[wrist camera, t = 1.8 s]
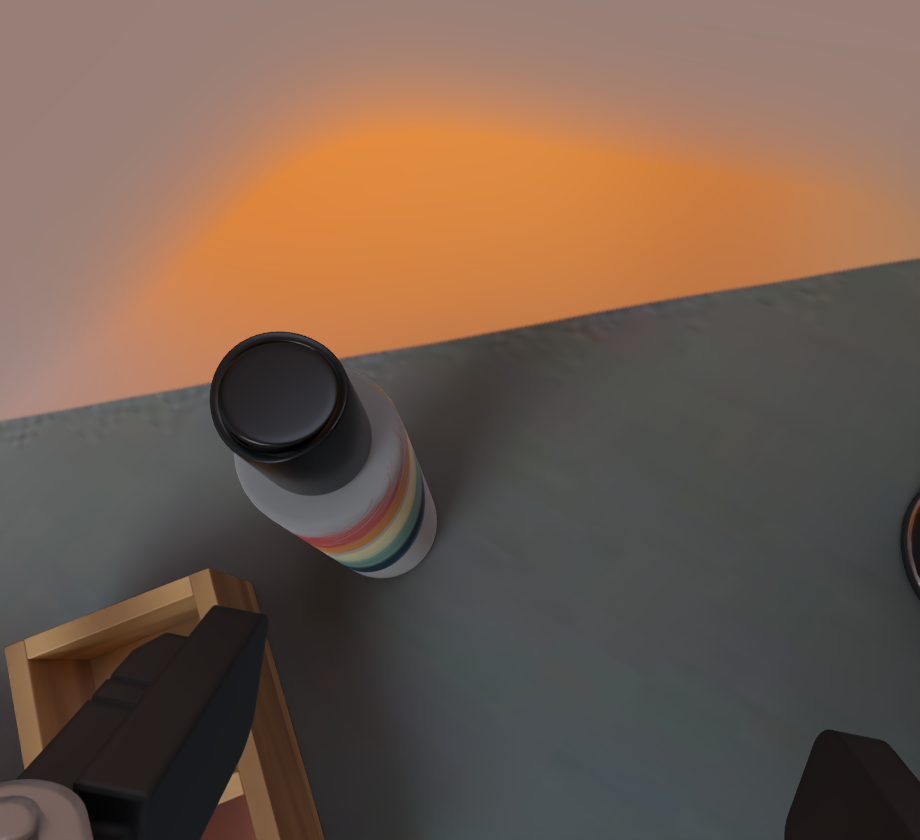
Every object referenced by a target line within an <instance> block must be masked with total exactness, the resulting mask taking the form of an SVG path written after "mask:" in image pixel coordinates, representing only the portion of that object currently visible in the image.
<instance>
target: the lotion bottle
mask: <svg viewBox="0 0 920 840" xmlns="http://www.w3.org/2000/svg"><path fill="white" fill-rule="evenodd" d="M210 409H211V415H212V419H213V422H214V425H215V427H216V430H217V432H218V434H219V435H220V437H221V438H222V440H223V441H224V442H225V444H226V445H227V446H228V447H229V448H230V449H231V450H232V451H233V452H234V458H235V466H236V471H237V475H238V478H239V480H240V483H241V485H242V487H243V489H244V491H245V493H246V494H247V496H248V497H249V499H250V500H251V501H252V502H253V504H254V505H255V506H256V507H257V508H258V509H259V510H260V511H261V512H263V513H264V514H265V515H266V516H268V517H269V518H270V519H272V520H273V521H275V522H276V523H278V524H279V525H281V526H282V527H284V528H285V529H287V530H289V531H290V532H292V533H293V534H295V535H296V536H298V537H300V538H301V539H303V540H304V541H306V542H308V543H309V544H311V545H312V546H314V547H316V548H317V549H319V550H320V551H322V552H324V553H325V554H327V555H328V556H330V557H332V558H333V559H335V560H336V561H338V562H340V563H341V564H343V565H344V566H346V567H348V568H349V569H351V570H353V571H355V572H357V573H359V574H362V575H364V576H368V577H374V578H389V577H394V576H398V575H401V574H403V573H405V572H407V571H409V570H411V569H412V568H414V567H415V566H416V565H418V564H419V563H420V562H421V561H422V560H423V559H424V557H425V556H426V555H427V553H428V552H429V550H430V548H431V546H432V544H433V541H434V538H435V535H436V529H437V515H436V510H435V505H434V502H433V499H432V496H431V494H430V491H429V488H428V486H427V483H426V481H425V478H424V476H423V473H422V470H421V468H420V465H419V463H418V460H417V458H416V455H415V453H414V450H413V447H412V445H411V442H410V440H409V437H408V435H407V432H406V430H405V427H404V425H403V422H402V420H401V418H400V416H399V414H398V411H397V409H396V408H395V406H394V404H393V402H392V401H391V399H390V398H389V397H388V395H387V394H386V393H385V392H384V391H383V390H382V389H381V388H380V387H379V386H378V385H377V384H376V383H374V382H373V381H372V380H370V379H369V378H367V377H366V376H364V375H362V374H360V373H358V372H355V371H353V370H350V369H347V368H344V367H343V366H342V364H341V362H340V361H339V360H338V358H337V357H336V356H335V355H334V354H333V353H332V352H331V351H330V350H329V349H328V348H326V347H325V346H324V345H322V344H321V343H319V342H317V341H315V340H313V339H311V338H309V337H306V336H303V335H300V334H296V333H290V332H268V333H263V334H259V335H255V336H253V337H250V338H248V339H246V340H244V341H242V342H241V343H239V344H238V345H236V346H235V347H234V348H233V349H231V351H229V352H228V354H227V355H226V356H225V357H224V358H223V360H222V361H221V362H220V364H219V366H218V368H217V370H216V372H215V374H214V377H213V380H212V384H211V390H210Z"/></svg>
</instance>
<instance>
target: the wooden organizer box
mask: <svg viewBox="0 0 920 840" xmlns="http://www.w3.org/2000/svg"><path fill="white" fill-rule="evenodd" d="M214 605H220V606H225V607H230V608H235V609H240V610H245V611H250V612H255V613H260V610H259V606H258V603H257V599H256V595H255V592H254V588H253V585H252V583H251V582H249V581H246V580H243V579H240V578H237V577H234V576H231V575H228V574H225V573H222V572H219V571H216V570H213V569H209V568H207V569H204V570H202V571H199V572H197V573H194V574H191V575H190V576H186V577H184V578H181V579H179V580H176V581H174V582H171V583H168V584H166V585H163V586H161V587H158V588H155V589H153V590H150V591H148V592H145V593H143V594H140V595H137V596H135V597H132V598H130V599H127V600H125V601H122V602H119V603H117V604H114V605H112V606H109V607H106V608H104V609H101V610H99V611H96V612H94V613H91V614H88V615H86V616H83V617H81V618H78V619H75V620H73V621H70V622H68V623H65V624H63V625H60V626H57V627H55V628H52V629H50V630H47V631H45V632H42V633H39V634H37V635H34V636H32V637H29V638H26V639H25V640H22V641H19V642H17V643H14V644H11V645H9V646H6V647H5V655H6V661H7V667H8V673H9V679H10V685H11V691H12V697H13V703H14V710H15V716H16V722H17V728H18V734H19V740H20V746H21V752H22V758H23V764H24V770H25V769H26V768H27V767H28V766H29V765H30V764H31V762H32V761H33V760H34V759H35V758H36V757H37V756H38V755H39V754H40V752H41V751H42V750H43V749H44V748H45V747H46V746H47V745H48V744H49V742H50V741H51V740H52V739H53V738H54V737H55V736H56V735H57V734H58V732H59V731H60V730H61V729H62V728H63V727H64V726H65V725H66V724H67V723H68V721H69V720H70V719H71V718H72V717H73V716H74V715H75V714H76V713H77V711H78V710H79V709H80V708H81V707H82V706H83V705H84V704H85V703H86V701H87V700H91V699H92V696H93V694H94V693H95V691H96V690H97V689H98V688H99V687H100V686H101V685H102V684H103V683H104V682H105V680H106V679H110V677H111V674H112V673H113V672H114V670H115V669H116V668H117V667H118V666H119V665H120V664H121V663H122V662H123V660H124V659H125V658H126V657H127V656H128V655H129V654H130V653H131V652H132V650H134V649H136V648H137V647H139V646H141V645H143V644H145V643H147V642H149V641H151V640H153V639H155V638H157V637H159V636H160V635H162V634H164V633H166V632H167V633H172V634H177V635H182V636H187V637H188V636H189V635H190V634H191V633H192V631H193V630H194V629H195V627H196V626H197V625H198V624H199V622H200V621H201V620H202V619H203V617H204V616H205V615H206V614H207V612H208V611H209V610H210V609H211V607H212V606H214ZM260 614H261V613H260ZM200 840H325V838H324V835H323V831H322V828H321V824H320V821H319V817H318V814H317V810H316V807H315V803H314V800H313V796H312V793H311V789H310V786H309V782H308V778H307V775H306V771H305V768H304V764H303V761H302V757H301V754H300V750H299V747H298V743H297V740H296V736H295V733H294V729H293V726H292V722H291V719H290V715H289V712H288V708H287V705H286V701H285V698H284V694H283V691H282V687H281V683H280V680H279V676H278V673H277V669H276V666H275V662H274V659H273V655H272V652H271V648H270V645H269V641H268V638H267V636H266V642H265V649H264V655H263V662H262V669H261V675H260V682H259V689H258V695H257V702H256V708H255V714H254V719H253V723H252V727H251V730H250V734H249V737H248V740H247V743H246V746H245V749H244V751H243V754H242V756H241V758H240V760H239V762H238V764H237V766H236V768H235V770H234V772H233V774H232V777H231V779H230V781H229V783H228V785H227V787H226V789H225V791H224V793H223V795H222V797H221V799H220V801H219V803H218V805H217V807H216V809H215V811H214V813H213V815H212V817H211V819H210V821H209V823H208V825H207V827H206V829H205V831H204V833H203V835H202V837H201V839H200Z"/></svg>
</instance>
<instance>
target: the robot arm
mask: <svg viewBox="0 0 920 840" xmlns="http://www.w3.org/2000/svg"><path fill="white" fill-rule="evenodd" d="M901 550H902V558H903V562H904V567H905V570H906V573H907V576H908V579H909V581H910V583H911V586H912V588H913V590H914V591H915V593H916V595H917V597H918V598H919V600H920V492H919V494H918V495H917V496H916V497H915V499H914V500H913V502H912V503H911V505H910V507H909V509H908V511H907V513H906V516H905V519H904V523H903V528H902V536H901ZM267 628H268V618H267V615H265V614H260V613H255V612H250V611H245V610H240V609H235V608H230V607H225V606H220V605H214V606H212V607H211V609H210V610H209V611H208V612H207V614H206V615H205V616H204V617H203V619H202V620H201V621H200V622H199V624H198V625H197V626H196V627H195V629H194V630H193V631H192V633H191V634H190V635H189V636H188V637H187V636H182V635H177V634H172V633H167V632H166V633H164V634H162V635H160V636H159V637H157V638H155V639H153V640H151V641H149V642H147V643H145V644H143V645H141V646H139V647H137V648H136V649H134V650H132V652H131V653H130V654H129V655H128V656H127V657H126V658H125V659H124V660H123V662H122V663H121V664H120V665H119V666H118V667H117V668H116V669H115V670H114V672H113V673H112V674H111V677H110V679H106V680H105V682H104V683H103V684H102V685H101V686H100V687H99V688H98V689H97V690H96V691H95V693H94V694H93V696H92V699H91V700H87V701H86V703H85V704H84V705H83V706H82V707H81V708H80V709H79V710H78V711H77V713H76V714H75V715H74V716H73V717H72V718H71V719H70V720H69V721H68V723H67V724H66V725H65V726H64V727H63V728H62V729H61V730H60V731H59V732H58V734H57V735H56V736H55V737H54V738H53V739H52V740H51V741H50V742H49V744H48V745H47V746H46V747H45V748H44V749H43V750H42V751H41V752H40V754H39V755H38V756H37V757H36V758H35V759H34V760H33V761H32V762H31V764H30V765H29V766H28V767H27V768H26V769H25V770H24V771H23V772H22V773H21V775H20V776H19V777H18V778H17V779H16V780H10V781H5V782H0V840H200V839H201V837H202V835H203V833H204V831H205V829H206V827H207V825H208V823H209V821H210V819H211V817H212V815H213V813H214V811H215V809H216V807H217V805H218V803H219V801H220V799H221V797H222V795H223V793H224V791H225V789H226V787H227V785H228V783H229V781H230V779H231V777H232V774H233V772H234V770H235V768H236V766H237V764H238V762H239V760H240V758H241V756H242V754H243V751H244V749H245V746H246V743H247V740H248V737H249V734H250V730H251V727H252V723H253V719H254V714H255V708H256V702H257V695H258V689H259V682H260V675H261V669H262V662H263V655H264V649H265V642H266V636H267ZM785 840H920V782H919V781H918V779H917V778H916V777H915V776H914V774H913V773H912V772H911V771H910V770H909V768H908V767H907V766H906V765H905V763H904V762H903V761H902V760H901V759H900V757H899V756H898V755H897V754H896V752H895V751H894V750H893V749H892V748H891V747H890V745H889V744H887V743H886V742H884V741H882V740H879V739H874V738H869V737H864V736H859V735H854V734H849V733H844V732H839V731H834V730H825V731H823V732H821V733H820V734H819V735H818V737H817V738H816V740H815V742H814V745H813V747H812V750H811V753H810V756H809V758H808V761H807V764H806V767H805V769H804V772H803V775H802V778H801V780H800V783H799V786H798V789H797V792H796V794H795V797H794V800H793V803H792V805H791V808H790V811H789V814H788V817H787V820H786V825H785Z"/></svg>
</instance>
